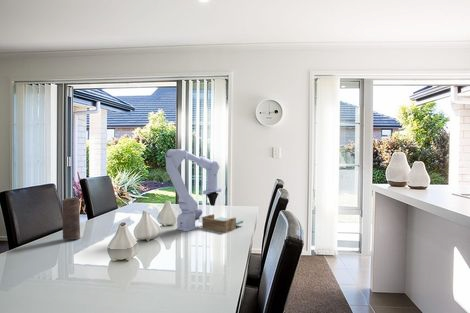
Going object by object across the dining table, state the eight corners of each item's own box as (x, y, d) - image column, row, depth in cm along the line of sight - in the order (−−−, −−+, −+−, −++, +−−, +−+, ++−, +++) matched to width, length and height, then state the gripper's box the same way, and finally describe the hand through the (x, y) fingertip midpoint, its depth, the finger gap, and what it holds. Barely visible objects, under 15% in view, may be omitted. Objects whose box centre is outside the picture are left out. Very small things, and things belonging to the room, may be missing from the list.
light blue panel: (236, 223, 166) (243, 220, 172) (212, 219, 175) (220, 217, 180) (236, 225, 166) (243, 222, 172) (212, 221, 175) (220, 219, 181)
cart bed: (226, 232, 158) (226, 220, 158) (202, 228, 167) (202, 217, 167) (236, 228, 166) (235, 217, 165) (212, 224, 175) (212, 214, 174)
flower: (198, 210, 182) (197, 200, 191) (185, 216, 183) (184, 206, 191) (205, 221, 187) (203, 211, 196) (192, 227, 187) (191, 216, 196)
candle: (72, 242, 143) (71, 199, 142) (58, 241, 144) (57, 198, 144) (83, 237, 150) (82, 196, 150) (70, 236, 152) (69, 196, 151)
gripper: (209, 183, 169) (210, 208, 169) (225, 181, 181) (225, 204, 181) (200, 182, 173) (200, 206, 173) (215, 180, 185) (215, 203, 185)
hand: (212, 205), depth 177 cm, fingers closed
